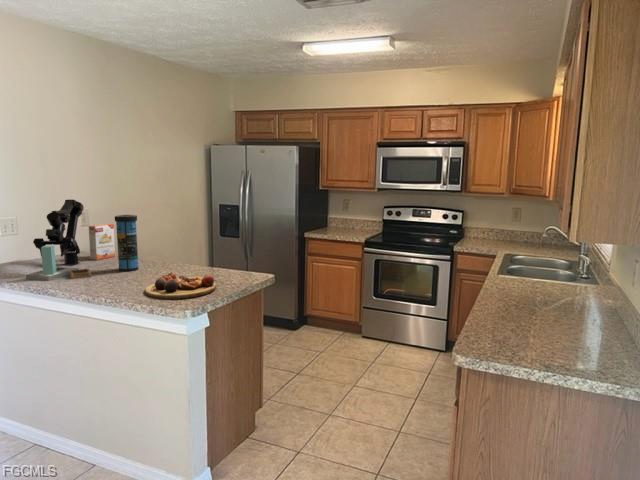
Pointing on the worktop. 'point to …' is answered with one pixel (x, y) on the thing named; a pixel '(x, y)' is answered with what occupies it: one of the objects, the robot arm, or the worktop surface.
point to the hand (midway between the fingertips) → (51, 256)
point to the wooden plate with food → (180, 287)
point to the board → (59, 273)
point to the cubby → (80, 273)
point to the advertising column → (127, 242)
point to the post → (48, 260)
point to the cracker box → (101, 241)
